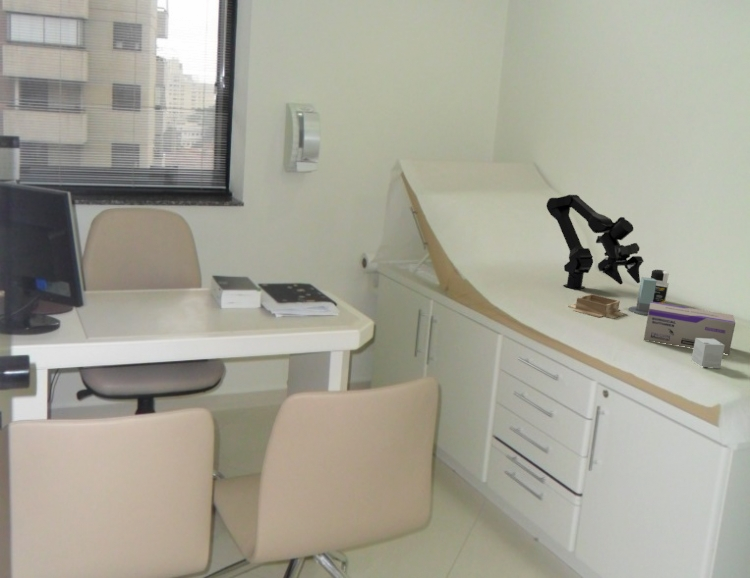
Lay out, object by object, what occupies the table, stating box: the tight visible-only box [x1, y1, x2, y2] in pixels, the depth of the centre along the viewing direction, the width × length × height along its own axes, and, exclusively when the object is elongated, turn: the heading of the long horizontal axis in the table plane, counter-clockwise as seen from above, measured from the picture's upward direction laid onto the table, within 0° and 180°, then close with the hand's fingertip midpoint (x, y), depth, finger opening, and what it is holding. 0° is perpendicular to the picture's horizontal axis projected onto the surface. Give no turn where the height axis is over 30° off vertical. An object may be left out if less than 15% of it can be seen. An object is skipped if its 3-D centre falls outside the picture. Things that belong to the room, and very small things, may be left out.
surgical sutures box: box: [643, 302, 736, 355], centre depth 260 cm, size 25×11×11 cm, turn 71°
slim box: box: [636, 276, 657, 312], centre depth 295 cm, size 4×4×12 cm
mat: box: [628, 305, 649, 316], centre depth 296 cm, size 10×10×1 cm
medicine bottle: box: [650, 269, 670, 304], centre depth 313 cm, size 7×7×12 cm
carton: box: [568, 293, 626, 320], centre depth 291 cm, size 17×17×4 cm
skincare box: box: [690, 338, 725, 369], centre depth 240 cm, size 6×6×7 cm
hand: (630, 283), depth 301 cm, fingers open, 9 cm apart
